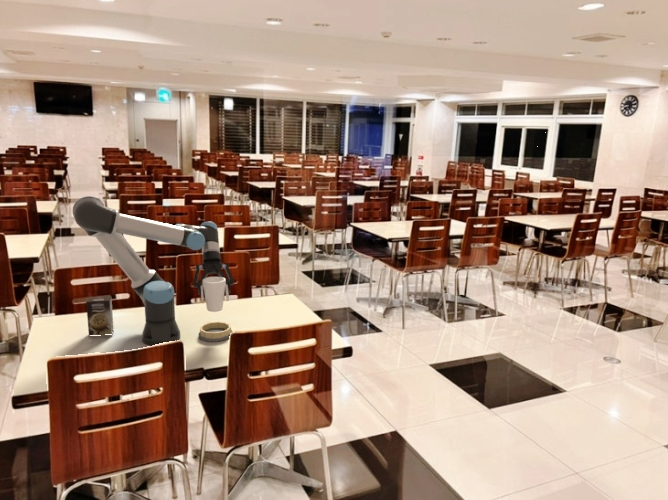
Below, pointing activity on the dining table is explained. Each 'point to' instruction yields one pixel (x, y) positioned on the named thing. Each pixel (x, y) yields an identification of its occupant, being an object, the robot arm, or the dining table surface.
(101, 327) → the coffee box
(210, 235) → the robot arm
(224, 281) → the foam cup
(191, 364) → the dining table surface
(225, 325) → the collar seat
